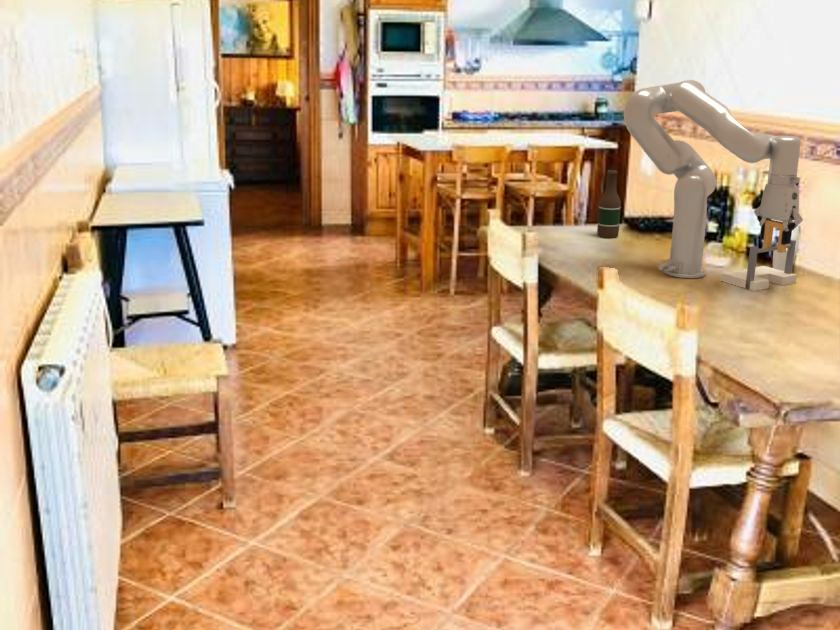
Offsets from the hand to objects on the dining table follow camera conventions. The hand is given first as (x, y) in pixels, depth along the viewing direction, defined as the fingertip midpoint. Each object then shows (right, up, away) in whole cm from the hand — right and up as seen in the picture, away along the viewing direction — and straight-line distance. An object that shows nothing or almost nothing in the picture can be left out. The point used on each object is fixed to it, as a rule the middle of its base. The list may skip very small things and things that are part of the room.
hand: (774, 241), depth 257 cm
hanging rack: (-2, -12, +7) cm, 14 cm away
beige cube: (+11, -7, +21) cm, 24 cm away
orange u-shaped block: (0, -3, +1) cm, 3 cm away
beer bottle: (-35, +7, +65) cm, 74 cm away
